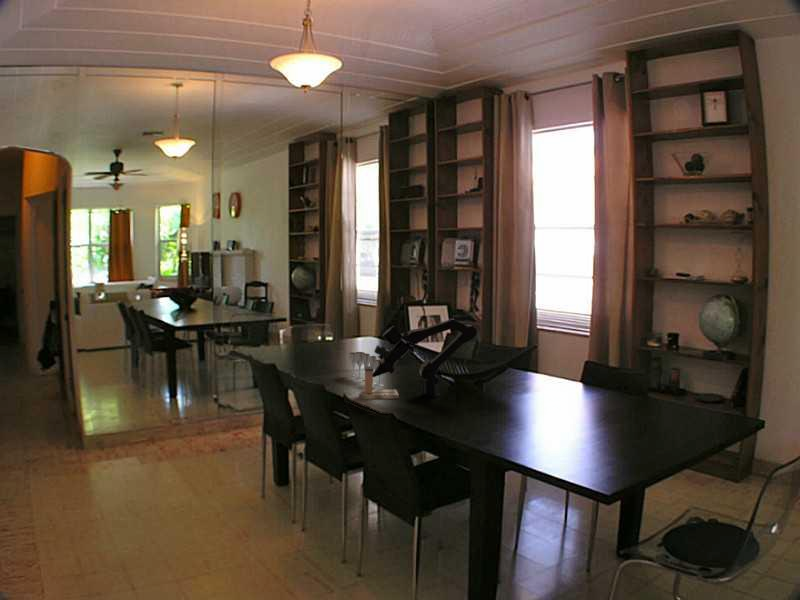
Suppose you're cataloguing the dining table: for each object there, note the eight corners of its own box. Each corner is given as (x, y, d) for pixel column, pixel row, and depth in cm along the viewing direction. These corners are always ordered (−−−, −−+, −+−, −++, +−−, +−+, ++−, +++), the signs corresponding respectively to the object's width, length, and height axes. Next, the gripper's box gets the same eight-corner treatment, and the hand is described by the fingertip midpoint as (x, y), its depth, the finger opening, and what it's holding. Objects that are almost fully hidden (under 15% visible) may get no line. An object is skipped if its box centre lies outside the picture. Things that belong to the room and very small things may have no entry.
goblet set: (345, 376, 308) (346, 350, 307) (355, 374, 312) (355, 349, 310) (378, 387, 286) (378, 359, 285) (387, 385, 290) (388, 358, 288)
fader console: (396, 392, 276) (396, 389, 276) (398, 398, 266) (398, 394, 266) (360, 393, 274) (360, 389, 274) (362, 398, 264) (362, 395, 264)
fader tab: (371, 390, 272) (372, 366, 271) (372, 393, 266) (373, 368, 265) (363, 390, 272) (364, 366, 271) (364, 393, 266) (365, 368, 265)
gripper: (383, 336, 277) (358, 359, 277) (387, 342, 259) (361, 368, 258) (400, 353, 279) (375, 376, 278) (405, 361, 260) (379, 386, 260)
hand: (372, 376), depth 269 cm, fingers closed, pressing on fader tab
